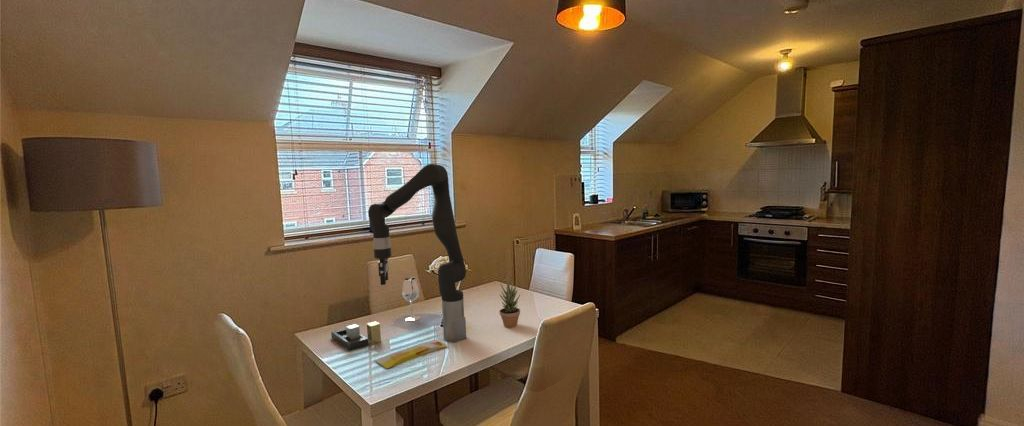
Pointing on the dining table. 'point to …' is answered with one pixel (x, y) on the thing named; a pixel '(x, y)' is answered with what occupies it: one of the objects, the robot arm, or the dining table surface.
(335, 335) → the dark grey tray
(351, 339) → the light grey block
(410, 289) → the wineglass
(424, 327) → the dining table surface
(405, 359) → the food package
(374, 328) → the tan rectangular block
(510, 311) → the potted plant
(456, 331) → the robot arm
